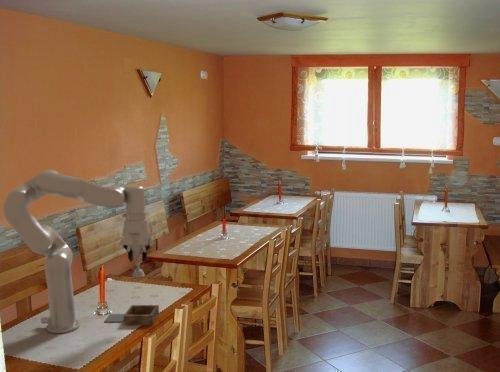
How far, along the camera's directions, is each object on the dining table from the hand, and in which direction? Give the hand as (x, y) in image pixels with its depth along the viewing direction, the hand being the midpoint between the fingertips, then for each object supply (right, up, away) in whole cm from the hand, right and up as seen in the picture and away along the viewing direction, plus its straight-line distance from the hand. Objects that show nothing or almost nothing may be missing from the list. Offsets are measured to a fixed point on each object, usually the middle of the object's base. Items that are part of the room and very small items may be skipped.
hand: (137, 260), depth 229 cm
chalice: (0, -6, +1) cm, 7 cm away
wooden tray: (+1, -25, +4) cm, 25 cm away
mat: (-10, -25, +6) cm, 27 cm away
